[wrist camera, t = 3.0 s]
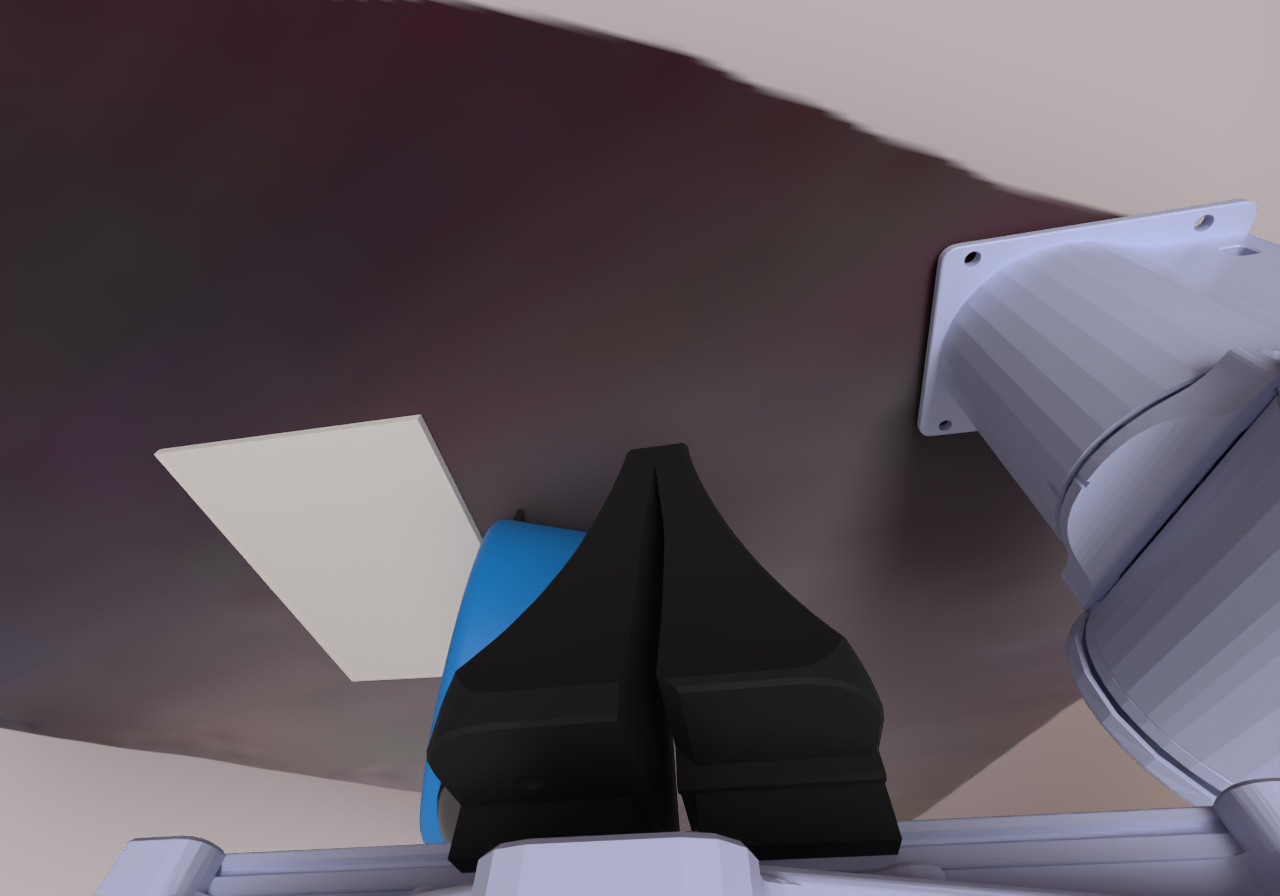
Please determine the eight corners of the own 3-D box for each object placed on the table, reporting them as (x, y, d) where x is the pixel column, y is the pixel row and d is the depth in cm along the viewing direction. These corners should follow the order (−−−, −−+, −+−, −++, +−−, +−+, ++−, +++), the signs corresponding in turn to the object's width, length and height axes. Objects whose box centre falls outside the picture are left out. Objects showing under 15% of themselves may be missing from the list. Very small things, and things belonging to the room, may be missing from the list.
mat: (420, 414, 25) (417, 419, 25) (545, 665, 37) (544, 671, 36) (159, 449, 27) (153, 454, 27) (354, 676, 39) (352, 681, 38)
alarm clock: (505, 457, 26) (385, 817, 14) (634, 479, 27) (627, 839, 15) (490, 626, 34) (403, 955, 21) (591, 639, 34) (562, 965, 22)
